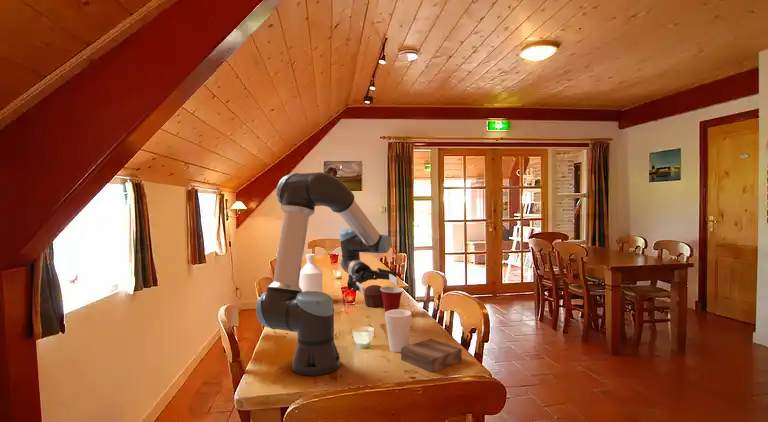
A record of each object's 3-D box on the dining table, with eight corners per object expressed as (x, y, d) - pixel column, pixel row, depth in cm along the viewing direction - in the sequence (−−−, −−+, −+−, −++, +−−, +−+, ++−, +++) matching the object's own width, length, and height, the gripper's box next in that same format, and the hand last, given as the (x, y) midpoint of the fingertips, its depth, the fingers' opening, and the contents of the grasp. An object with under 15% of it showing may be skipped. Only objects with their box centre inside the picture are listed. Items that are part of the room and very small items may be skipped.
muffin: (388, 303, 218) (388, 283, 218) (383, 308, 207) (383, 288, 207) (366, 302, 221) (365, 283, 221) (360, 307, 210) (359, 287, 210)
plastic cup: (401, 317, 191) (401, 291, 191) (378, 316, 194) (377, 290, 193) (405, 311, 202) (405, 286, 202) (383, 310, 204) (382, 285, 204)
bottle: (295, 302, 222) (294, 254, 222) (314, 298, 230) (313, 252, 230) (307, 306, 214) (306, 256, 213) (327, 302, 222) (326, 254, 221)
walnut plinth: (431, 372, 131) (431, 359, 131) (401, 359, 142) (401, 347, 142) (461, 360, 140) (461, 348, 140) (430, 349, 151) (430, 338, 151)
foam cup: (416, 347, 154) (416, 311, 153) (403, 355, 146) (403, 317, 145) (394, 343, 159) (393, 308, 158) (380, 350, 151) (379, 314, 150)
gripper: (388, 273, 181) (411, 288, 162) (331, 286, 172) (349, 304, 152) (386, 256, 180) (410, 269, 161) (329, 269, 170) (347, 284, 151)
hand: (380, 286), depth 156 cm, fingers open, 13 cm apart
